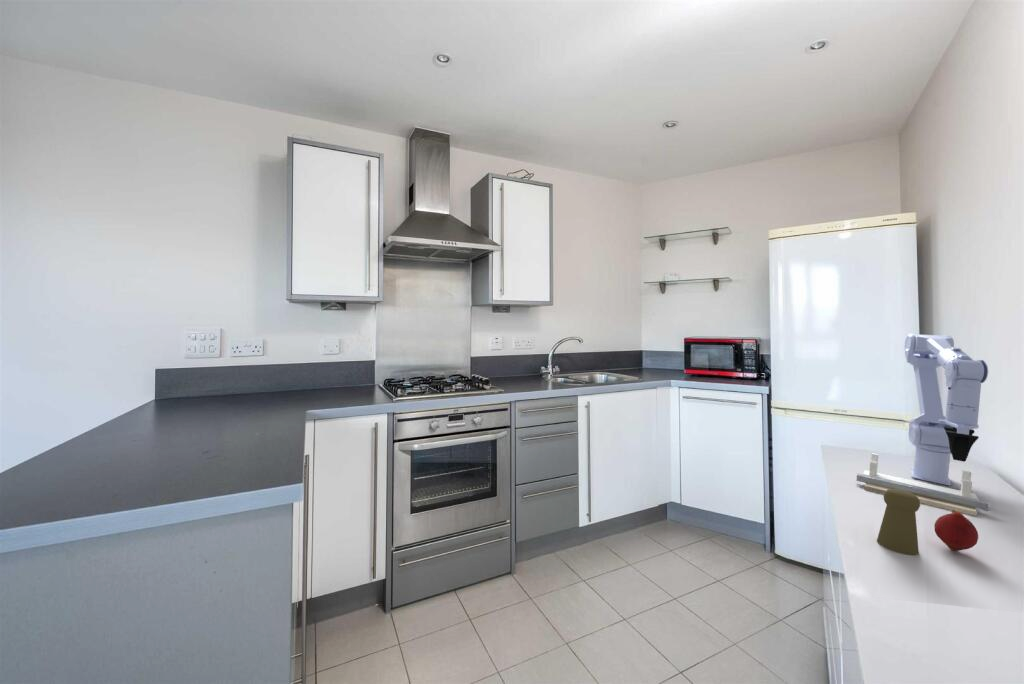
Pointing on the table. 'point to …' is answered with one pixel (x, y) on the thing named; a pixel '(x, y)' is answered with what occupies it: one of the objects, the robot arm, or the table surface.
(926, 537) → the table surface
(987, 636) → the table surface
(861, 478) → the steel rail
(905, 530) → the cork
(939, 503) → the beech board
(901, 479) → the bracket stand
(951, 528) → the onion
